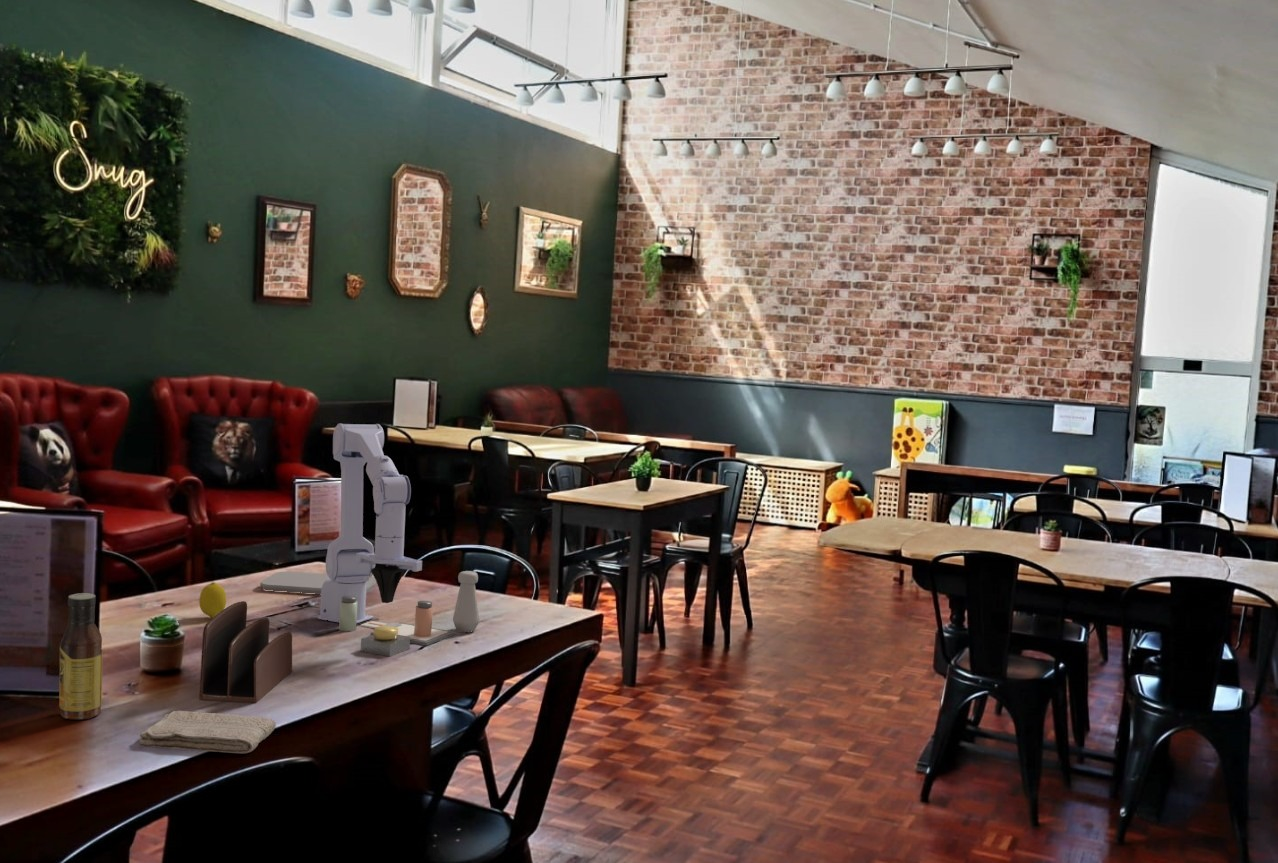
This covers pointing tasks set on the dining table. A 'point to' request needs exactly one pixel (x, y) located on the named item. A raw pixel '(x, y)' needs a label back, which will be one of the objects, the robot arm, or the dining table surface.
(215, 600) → the lemon
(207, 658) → the letter holder
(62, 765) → the dining table surface
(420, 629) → the pepper shaker
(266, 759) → the dining table surface
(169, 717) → the washcloth
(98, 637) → the sauce bottle
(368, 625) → the card
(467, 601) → the salt shaker
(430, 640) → the clipboard
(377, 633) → the button
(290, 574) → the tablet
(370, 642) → the switch box
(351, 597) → the green spice jar
